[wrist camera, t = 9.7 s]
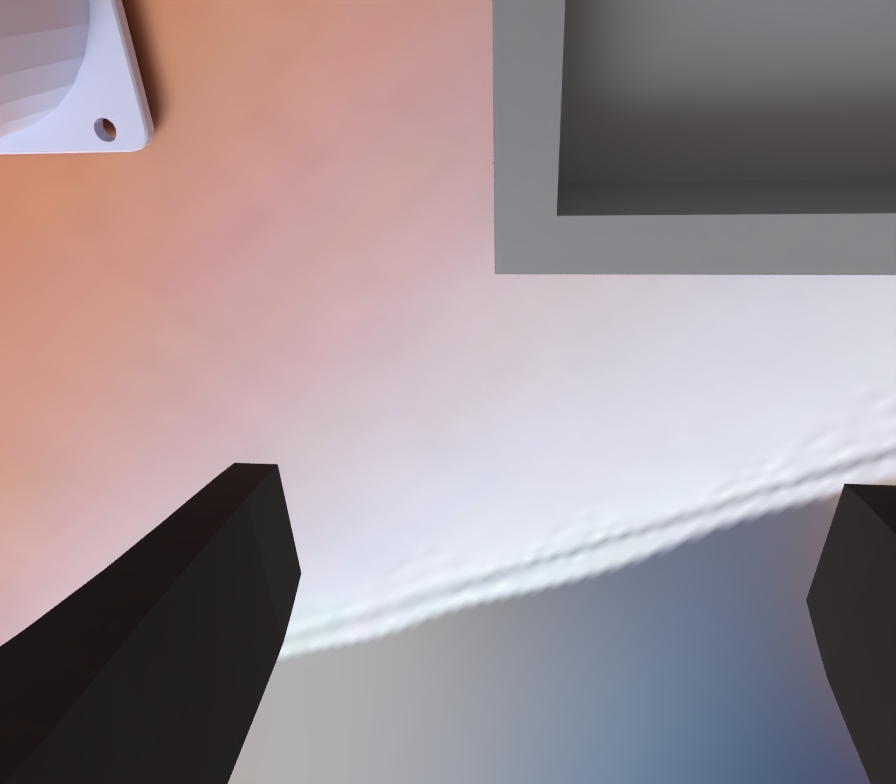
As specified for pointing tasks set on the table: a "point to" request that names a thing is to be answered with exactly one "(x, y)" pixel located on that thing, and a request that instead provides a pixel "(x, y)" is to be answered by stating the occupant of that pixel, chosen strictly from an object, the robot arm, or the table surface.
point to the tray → (695, 137)
